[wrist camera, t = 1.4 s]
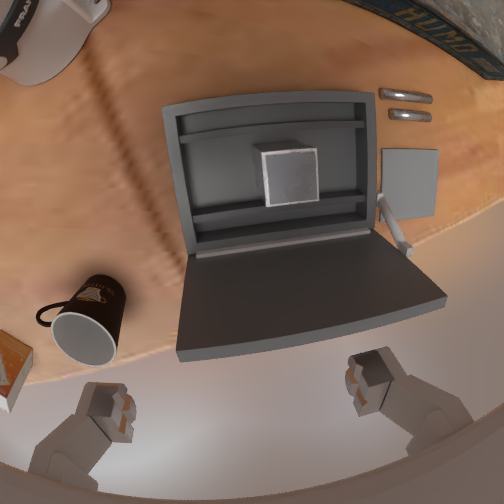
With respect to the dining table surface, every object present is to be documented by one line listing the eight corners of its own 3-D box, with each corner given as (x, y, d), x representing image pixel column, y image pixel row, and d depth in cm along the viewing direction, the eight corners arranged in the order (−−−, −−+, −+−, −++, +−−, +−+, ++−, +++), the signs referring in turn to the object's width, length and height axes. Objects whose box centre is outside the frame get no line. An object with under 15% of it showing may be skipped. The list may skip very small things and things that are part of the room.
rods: (378, 88, 30) (384, 87, 28) (426, 94, 30) (432, 94, 29) (380, 118, 31) (386, 119, 30) (427, 122, 32) (433, 123, 31)
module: (251, 144, 31) (261, 153, 24) (296, 140, 31) (318, 148, 24) (256, 188, 33) (267, 208, 26) (299, 183, 33) (320, 202, 26)
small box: (33, 347, 41) (7, 399, 29) (32, 366, 43) (10, 415, 31) (0, 328, 38) (-30, 375, 27) (1, 347, 40) (-24, 393, 29)
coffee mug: (143, 288, 38) (127, 337, 29) (120, 327, 40) (104, 376, 31) (71, 244, 34) (37, 284, 25) (55, 288, 36) (26, 331, 27)
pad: (381, 148, 33) (382, 149, 33) (437, 149, 34) (438, 150, 33) (379, 221, 38) (380, 222, 37) (432, 214, 38) (433, 215, 38)
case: (167, 107, 28) (112, 100, 12) (368, 94, 30) (482, 97, 13) (192, 250, 36) (180, 362, 20) (368, 225, 38) (455, 303, 21)
